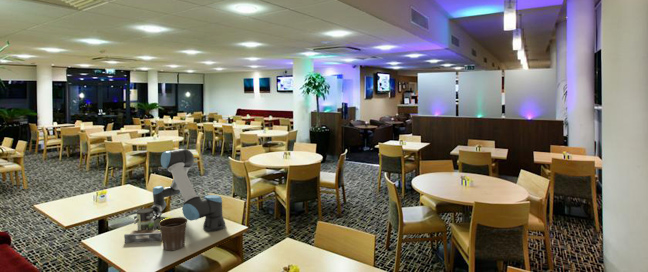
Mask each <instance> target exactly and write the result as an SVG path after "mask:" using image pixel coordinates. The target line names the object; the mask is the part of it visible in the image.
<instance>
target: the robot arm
mask: <svg viewBox="0 0 648 272" xmlns="http://www.w3.org/2000/svg"><path fill="white" fill-rule="evenodd" d="M194 161H195V157H194V154H193V152H192V151H191V150H189V149H186V148H180V149H172V150H167V151H163V152H162V153H161V156H160V164H161V167H162V168H164V169H166V170H167V171H168V172H169V173H171V175H172V177H173V179H172V182H171V184H170V186H166V187H164V186H162V185H157V186H154V187H153V188H152V197H153V205H152V206H150V208H151V209H153V218H152V219H151V223H153V222H154V223H155V221H157V220H161V216H162V214H163V212H162V211H164V210H165V208H166V207H167V203H166V201H165V198H169V197H173V196H177V195H181V198H182V199H183V203H182V214H183V216H184V218H185V219H187V221H197V220H199V219H202V218H204V221H203V225H202V227H203V228H202V230H204V231H206V232H217V231H221V230H224V229H225V228H226V221H225V219H224V216H223V198H222V196H220V195H218V194H217V195H215V194H209V195H208V194H207V195H205V196H204V199H202V198H201V196H200V195H197V193H196V191H195V190H194V189H195V188H194V186H193V185H192V182H191V180H190V178H189V175H188V172H189V170H190V168H191V167H192V166H193V165H194ZM133 218H134V220H133V225H136V224H137V214H136V215H135V216H133Z"/></svg>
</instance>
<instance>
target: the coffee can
mask: <svg viewBox="0 0 648 272" xmlns="http://www.w3.org/2000/svg"><path fill="white" fill-rule="evenodd" d="M136 215H137V223H136V224H137V230H155V221H154V222H153V223H151V219H152V218H153V209H151V207H146V208H141V209H137V210H136Z"/></svg>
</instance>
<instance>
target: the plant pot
mask: <svg viewBox="0 0 648 272" xmlns="http://www.w3.org/2000/svg"><path fill="white" fill-rule="evenodd" d="M187 222H188V219H186V218H185V217H181V216H179V217H170V218H166V219H163V220H161V221H160V222H159V223H158V226H159V229H160V230H161V234H162V241H161V242H162V247H163V250H165V251H170V252H171V251H174V250H175V251H177V250H180V249H182V248H183V247H184V246H185V241H186V240H185V239H186V228H187Z"/></svg>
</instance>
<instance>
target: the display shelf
mask: <svg viewBox="0 0 648 272" xmlns="http://www.w3.org/2000/svg"><path fill="white" fill-rule="evenodd" d="M123 238H124V239H123V240H124V244H132V243H134V244H135V243H137V244H140V243H157V242H160V243H161V242H163V241H162V234H161V232H160V231H158V229H154V230H138V229H137V230H132V231H131V232H130V233H125V234H124V235H123Z"/></svg>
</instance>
